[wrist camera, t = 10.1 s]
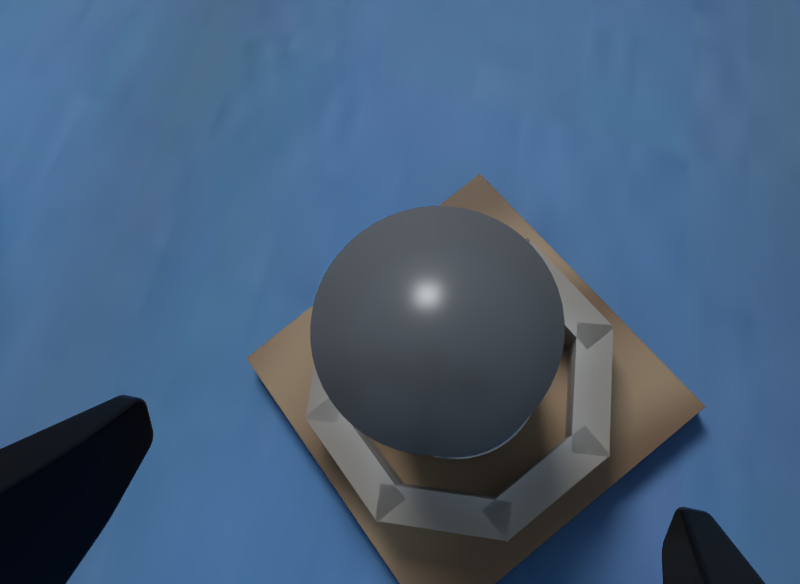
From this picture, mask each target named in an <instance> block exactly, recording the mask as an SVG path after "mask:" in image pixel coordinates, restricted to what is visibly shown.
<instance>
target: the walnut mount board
mask: <svg viewBox="0 0 800 584" xmlns="http://www.w3.org/2000/svg"><path fill="white" fill-rule="evenodd" d="M440 206H450V207H458V208H465V209H469V210H473V211H476V212H480V213H483V214H485V215H488V216H490V217H493V218H495V219H497V220H499V221H500V222H502V223H504V224H506V225H508V226H509V227H511V228H512V229H513V230H515V231H516V232H517V233H519V234H520V235H521V236H522V237H523V238H525V239H526V240H527V241H528V242H529V243H530V244H531V245H532V246H533V247H534V249H535V250H536V251H537V252H538V254H539V255H540V256H541V257H542V258H543V260H544V262H545V263H546V265H547V267H548V268H549V270H550V272H551V273H552V276H553V278H554V280H555V283H556V285H557V287H558V290H559V294H560V297H561V301H562V305H563V312H564V320H565V338H564V345H563V352H562V357H561V360H560V364H559V367H558V371H557V373H556V375H555V378H554V380H553V382H552V384H551V386H550V388H549V390H548V391H547V393H546V395H545V396H544V398H543V399H542V401H541V403H540V404H539V405H538V406H537V407H536V409H535V410H534V411H533V412H532V414H531V416H530V417H529V419H528V421H527V422H526V424H525V425H524V426H523V427H522V429H521V430H520V431H519V432H518V433H517V434H516V435H515V436H514V437H513V438H512V439H511V440H510V441H508V442H507V443H506V444H504V445H503V446H501V447H500V448H498V449H496V450H494V451H492V452H490V453H487V454H484V455H481V456H478V457H473V458H468V459H445V458H439V457H434V456H429V455H418V454H412V453H408V452H403V451H399V450H396V449H393V448H391V447H388V446H385V445H382V444H381V443H379V442H377V441H375V440H373V439H371V438H369V437H368V436H366V435H365V434H363V433H362V432H361V431H359V430H358V429H357V428H355V427H354V426H353V425H352V424H351V423H350V422H349V421H347V420H346V419H345V418H344V417H343V416H342V415H341V413H340V412H339V411H338V410H337V408H336V407H335V406H334V405H333V403H332V402H331V400H330V399H329V397H328V395H327V394H326V392H325V390H324V389H323V387H322V384H321V382H320V380H319V377H318V375H317V372H316V369H315V365H314V361H313V358H312V350H311V343H310V324H311V316H312V309H313V306H312V307H311V308H309V309H308V310H307V311H305V312H304V313H303V314H302V315H300V316H299V317H298V318H297V319H295V320H294V321H293V322H292V323H290V324H289V325H288V326H286V327H285V328H284V329H283V330H281V331H280V332H279V333H278V334H276V335H275V336H274V337H273V338H271V339H270V340H269V341H267V342H266V343H265V344H264V345H262V346H261V347H260V348H259V349H257V350H256V351H255V352H254V353H252V354H251V355H250V356H248V357H247V360H248V361H249V363H250V364H251V366H252V367H253V369H254V370H255V371H256V373H257V374H258V376H259V377H260V379H261V380H262V382H263V383H264V385H265V386H266V388H267V389H268V391H269V392H270V394H271V395H272V396H273V398H274V399H275V401H276V402H277V404H278V405H279V407H280V408H281V410H282V411H283V413H284V414H285V416H286V417H287V419H288V420H289V421H290V423H291V424H292V426H293V427H294V429H295V430H296V432H297V433H298V435H299V436H300V438H301V439H302V441H303V442H304V443H305V445H306V446H307V448H308V449H309V451H310V452H311V454H312V455H313V457H314V458H315V460H316V461H317V463H318V464H319V466H320V467H321V468H322V470H323V471H324V473H325V474H326V476H327V477H328V479H329V480H330V482H331V483H332V485H333V486H334V488H335V489H336V490H337V492H338V493H339V495H340V496H341V498H342V499H343V501H344V502H345V504H346V505H347V507H348V508H349V510H350V511H351V513H352V514H353V515H354V517H355V518H356V520H357V521H358V523H359V524H360V526H361V527H362V529H363V530H364V532H365V533H366V535H367V536H368V538H369V539H370V540H371V542H372V543H373V545H374V546H375V548H376V549H377V551H378V552H379V554H380V555H381V557H382V558H383V560H384V561H385V562H386V564H387V565H388V567H389V568H390V570H391V571H392V573H393V574H394V576H395V577H396V579H397V580H398V582H399V583H400V584H496V583H497V582H498V581H499V580H500V579H501V578H503V577H504V576H505V575H506V574H507V573H509V572H510V571H511V570H512V569H513V568H515V567H516V566H517V565H518V564H519V563H520V562H522V561H523V560H524V559H525V558H526V557H528V556H529V555H530V554H531V553H532V552H534V551H535V550H536V549H537V548H538V547H540V546H541V545H542V544H543V543H544V542H545V541H547V540H548V539H549V538H550V537H551V536H553V535H554V534H555V533H556V532H557V531H559V530H560V529H561V528H562V527H563V526H564V525H566V524H567V523H568V522H569V521H570V520H572V519H573V518H574V517H575V516H576V515H578V514H579V513H580V512H581V511H582V510H583V509H585V508H586V507H587V506H588V505H589V504H591V503H592V502H593V501H594V500H595V499H597V498H598V497H599V496H600V495H601V494H602V493H604V492H605V491H606V490H607V489H608V488H610V487H611V486H612V485H613V484H614V483H616V482H617V481H618V480H619V479H620V478H621V477H623V476H624V475H625V474H626V473H627V472H629V471H630V470H631V469H632V468H633V467H635V466H636V465H637V464H638V463H639V462H640V461H642V460H643V459H644V458H645V457H646V456H648V455H649V454H650V453H651V452H652V451H654V450H655V449H656V448H657V447H658V446H659V445H661V444H662V443H663V442H664V441H665V440H667V439H668V438H669V437H670V436H671V435H673V434H674V433H675V432H676V431H677V430H679V429H680V428H681V427H682V426H683V425H684V424H686V423H687V422H688V421H689V420H690V419H692V418H693V417H694V416H695V415H696V414H698V413H699V412H700V411H701V410H702V409H703V408H705V406H704V405H703V404H702V403H701V402H700V401H699V400H698V398H697V397H696V396H695V395H694V394H693V393H692V392H691V391H690V390H689V389H688V388H687V387H686V386H685V385H684V384H683V383H682V382H681V381H680V380H679V379H678V378H677V377H676V376H675V375H674V374H673V373H672V372H671V371H670V370H669V369H668V368H667V366H666V365H665V364H664V363H663V362H662V361H661V360H660V359H659V358H658V357H657V356H656V355H655V354H654V353H653V352H652V351H651V350H650V349H649V348H648V347H647V346H646V345H645V344H644V343H643V342H642V341H641V340H640V339H639V338H638V337H637V336H636V335H635V333H634V332H633V331H632V330H631V329H630V328H629V327H628V326H627V325H626V324H625V323H624V322H623V321H622V320H621V319H620V318H619V317H618V316H617V315H616V314H615V313H614V312H613V311H612V310H611V309H610V308H609V307H608V306H607V305H606V304H605V303H604V301H603V300H602V299H601V298H600V297H599V296H598V295H597V294H596V293H595V292H594V291H593V290H592V289H591V288H590V287H589V286H588V285H587V284H586V283H585V282H584V281H583V280H582V279H581V278H580V277H579V276H578V275H577V274H576V273H575V272H574V271H573V269H572V268H571V267H570V266H569V265H568V264H567V263H566V262H565V261H564V260H563V259H562V258H561V257H560V256H559V255H558V254H557V253H556V252H555V251H554V250H553V249H552V248H551V247H550V246H549V245H548V244H547V243H546V242H545V241H544V240H543V239H542V238H541V236H540V235H539V234H538V233H537V232H536V231H535V230H534V229H533V228H532V227H531V226H530V225H529V224H528V223H527V222H526V221H525V220H524V219H523V218H522V217H521V216H520V215H519V214H518V213H517V212H516V211H515V210H514V209H513V208H512V207H511V206H510V204H509V203H508V202H507V201H506V200H505V199H504V198H503V197H502V196H501V195H500V194H499V193H498V192H497V191H496V190H495V189H494V188H493V187H492V186H491V185H490V184H489V183H488V182H487V181H486V180H485V179H484V178H483V177H482V176H481V175H480V174H479V175H478V176H476V177H475V178H474V179H473V180H471V181H470V182H469V183H468V184H466V185H465V186H464V187H462V188H461V189H460V190H459V191H457V192H456V193H455V194H454V195H452V196H451V197H450V198H449V199H447V200H446V201H445V202H443V203H442V204H441V205H440Z"/></svg>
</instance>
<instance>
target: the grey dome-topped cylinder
mask: <svg viewBox="0 0 800 584" xmlns="http://www.w3.org/2000/svg"><path fill="white" fill-rule="evenodd" d="M564 338H565V320H564V312H563V305H562V301H561V297H560V294H559V290H558V287H557V285H556V283H555V280H554V278H553V276H552V273H551V272H550V270H549V268H548V267H547V265H546V263H545V262H544V260H543V258H542V257H541V256H540V255H539V254H538V252H537V251H536V250H535V249H534V247H533V246H532V245H531V244H530V243H529V242H528V241H527V240H526V239H525V238H523V237H522V236H521V235H520V234H519V233H517V232H516V231H515V230H513V229H512V228H511V227H509V226H508V225H506V224H504V223H502V222H500V221H499V220H497V219H495V218H493V217H490V216H488V215H485V214H483V213H480V212H476V211H473V210H469V209H465V208H458V207H450V206H430V207H421V208H415V209H411V210H406V211H402V212H399V213H397V214H394V215H391V216H388V217H386V218H384V219H382V220H380V221H378V222H376V223H374V224H373V225H371V226H370V227H368V228H367V229H365V230H364V231H362V232H361V233H360V234H358V235H357V236H356V237H355V238H354V239H353V240H351V241H350V242H349V243H348V244H347V245H346V246H345V247H344V248H343V250H342V251H341V252H340V253H339V254H338V255H337V257H336V258H335V259H334V261H333V262H332V264H331V265H330V266H329V268H328V270H327V272H326V274H325V275H324V277H323V279H322V281H321V284H320V286H319V289H318V291H317V294H316V297H315V301H314V305H313V309H312V316H311V324H310V343H311V350H312V358H313V361H314V365H315V369H316V372H317V375H318V377H319V380H320V382H321V384H322V387H323V389H324V390H325V392H326V394H327V395H328V397H329V399H330V400H331V402H332V403H333V405H334V406H335V407H336V408H337V410H338V411H339V412H340V413H341V415H342V416H343V417H344V418H345V419H346V420H347V421H349V422H350V423H351V424H352V425H353V426H354V427H355V428H357V429H358V430H359V431H361V432H362V433H363V434H365V435H366V436H368V437H369V438H371V439H373V440H375V441H377V442H379V443H381V444H382V445H385V446H388V447H391V448H393V449H396V450H399V451H403V452H408V453H412V454H418V455H429V456H434V457H439V458H445V459H468V458H473V457H478V456H481V455H484V454H487V453H490V452H492V451H494V450H496V449H498V448H500V447H501V446H503V445H504V444H506V443H507V442H508V441H510V440H511V439H512V438H513V437H514V436H515V435H516V434H517V433H518V432H519V431H520V430H521V429H522V427H523V426H524V425H525V424H526V422H527V421H528V419H529V417H530V416H531V414H532V412H533V411H534V410H535V409H536V407H537V406H538V405H539V404H540V403H541V401H542V399H543V398H544V396H545V395H546V393H547V391H548V390H549V388H550V386H551V384H552V382H553V380H554V378H555V375H556V373H557V371H558V367H559V364H560V360H561V357H562V352H563V345H564Z"/></svg>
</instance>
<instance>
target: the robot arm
mask: <svg viewBox="0 0 800 584" xmlns="http://www.w3.org/2000/svg"><path fill="white" fill-rule="evenodd" d="M152 440H153V429H152V425H151V421H150V417H149V413H148V409H147V405H146V403H145V401H144V400H143V399H141V398H137V397H132V396H127V395H120V396H117V397H115V398H113V399H111V400H108V401H106V402H104V403H102V404H99V405H97V406H95V407H93V408H91V409H88V410H86V411H84V412H82V413H79V414H77V415H75V416H73V417H71V418H68V419H66V420H64V421H62V422H60V423H57V424H55V425H53V426H51V427H48V428H46V429H44V430H42V431H40V432H37V433H35V434H33V435H31V436H28V437H26V438H24V439H22V440H20V441H17V442H15V443H13V444H11V445H8V446H6V447H4V448H2V449H0V584H66V583H67V581H68V580H69V578H70V577H71V575H72V574H73V572H74V571H75V569H76V568H77V567H78V565H79V564H80V562H81V561H82V559H83V558H84V556H85V555H86V553H87V552H88V551H89V549H90V548H91V546H92V545H93V543H94V542H95V540H96V539H97V538H98V536H99V535H100V533H101V532H102V530H103V529H104V527H105V525H106V524H107V522H108V521H109V519H110V517H111V516H112V514H113V512H114V511H115V509H116V507H117V506H118V504H119V502H120V500H121V498H122V497H123V495H124V493H125V491H126V489H127V488H128V486H129V484H130V482H131V480H132V479H133V477H134V475H135V473H136V471H137V470H138V468H139V466H140V464H141V462H142V461H143V459H144V457H145V455H146V453H147V452H148V450H149V448H150V446H151V443H152ZM662 571H663V584H765V583H764V581H763V580H762V579H761V578H760V576H759V575H758V574H757V572H756V571H755V570H754V569H753V567H752V566H751V565H750V564H749V562H748V561H747V560H746V559H745V557H744V556H743V555H742V554H741V552H740V551H739V550H738V549H737V547H736V546H735V545H734V544H733V542H732V541H731V540H730V539H729V537H728V536H727V535H726V533H725V532H724V531H723V530H722V528H721V527H720V526H719V525H718V523H717V522H716V521H715V520H714V518H713V517H712V516H711V515H710V514H709V513H707V512H705V511H701V510H696V509H691V508H686V507H679V508H678V509H677V510H676V511H675V513H674V516H673V518H672V521H671V524H670V526H669V529H668V531H667V534H666V537H665V539H664V542H663V547H662Z"/></svg>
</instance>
